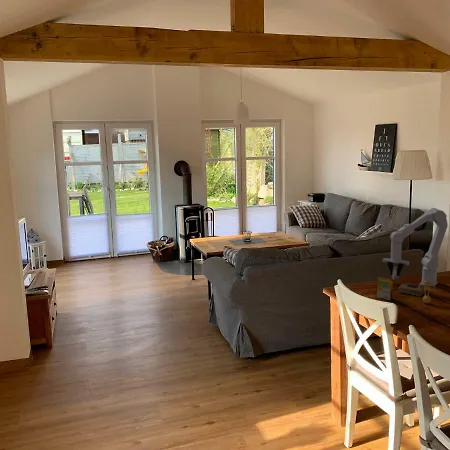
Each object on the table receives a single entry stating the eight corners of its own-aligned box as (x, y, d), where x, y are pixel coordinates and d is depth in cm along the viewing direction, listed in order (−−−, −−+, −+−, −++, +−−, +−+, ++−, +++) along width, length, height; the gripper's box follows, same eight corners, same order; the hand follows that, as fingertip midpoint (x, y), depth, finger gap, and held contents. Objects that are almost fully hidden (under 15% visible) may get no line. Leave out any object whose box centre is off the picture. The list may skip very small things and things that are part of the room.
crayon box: (392, 299, 251) (393, 278, 248) (389, 300, 248) (390, 279, 246) (379, 296, 255) (379, 275, 253) (376, 297, 253) (377, 276, 251)
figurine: (418, 304, 242) (419, 281, 240) (417, 300, 248) (418, 278, 246) (435, 305, 240) (437, 282, 238) (434, 301, 246) (435, 279, 244)
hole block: (404, 287, 270) (404, 281, 269) (426, 290, 263) (426, 285, 262) (397, 292, 260) (397, 287, 260) (420, 296, 253) (420, 291, 253)
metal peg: (393, 278, 277) (393, 266, 275) (398, 278, 275) (399, 267, 273) (391, 279, 274) (391, 267, 273) (397, 280, 272) (397, 268, 271)
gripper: (381, 252, 273) (380, 275, 275) (407, 255, 264) (406, 278, 266) (385, 250, 278) (384, 272, 281) (410, 253, 270) (409, 275, 272)
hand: (395, 275), depth 274 cm, fingers closed on metal peg, 3 cm apart
